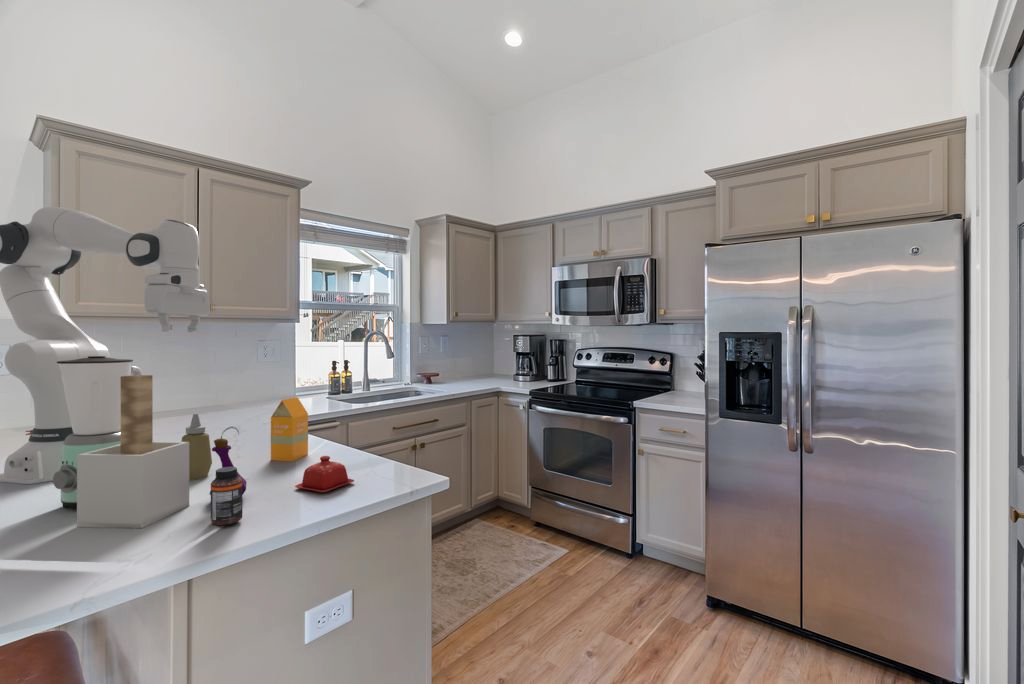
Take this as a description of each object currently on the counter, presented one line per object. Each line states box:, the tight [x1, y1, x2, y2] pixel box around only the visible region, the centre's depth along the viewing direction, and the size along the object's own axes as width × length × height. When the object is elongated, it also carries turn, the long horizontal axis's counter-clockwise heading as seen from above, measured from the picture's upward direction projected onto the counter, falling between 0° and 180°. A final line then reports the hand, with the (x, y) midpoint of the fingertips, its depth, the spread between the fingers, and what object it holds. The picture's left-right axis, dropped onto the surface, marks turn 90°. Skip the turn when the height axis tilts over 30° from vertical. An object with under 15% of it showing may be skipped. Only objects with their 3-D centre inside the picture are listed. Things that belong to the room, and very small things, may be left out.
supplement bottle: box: [210, 466, 243, 526], centre depth 106 cm, size 6×6×11 cm
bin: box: [76, 440, 190, 529], centre depth 109 cm, size 14×14×15 cm
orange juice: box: [270, 396, 309, 462], centre depth 161 cm, size 8×9×20 cm
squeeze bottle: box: [180, 413, 213, 481], centre depth 140 cm, size 8×8×18 cm
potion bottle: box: [209, 425, 247, 496], centre depth 120 cm, size 8×8×18 cm
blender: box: [52, 356, 144, 508], centre depth 119 cm, size 19×13×35 cm
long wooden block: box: [121, 374, 154, 455], centre depth 109 cm, size 4×4×30 cm
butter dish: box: [294, 455, 355, 493], centre depth 131 cm, size 12×12×8 cm
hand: (180, 332), depth 134 cm, fingers open, 8 cm apart
